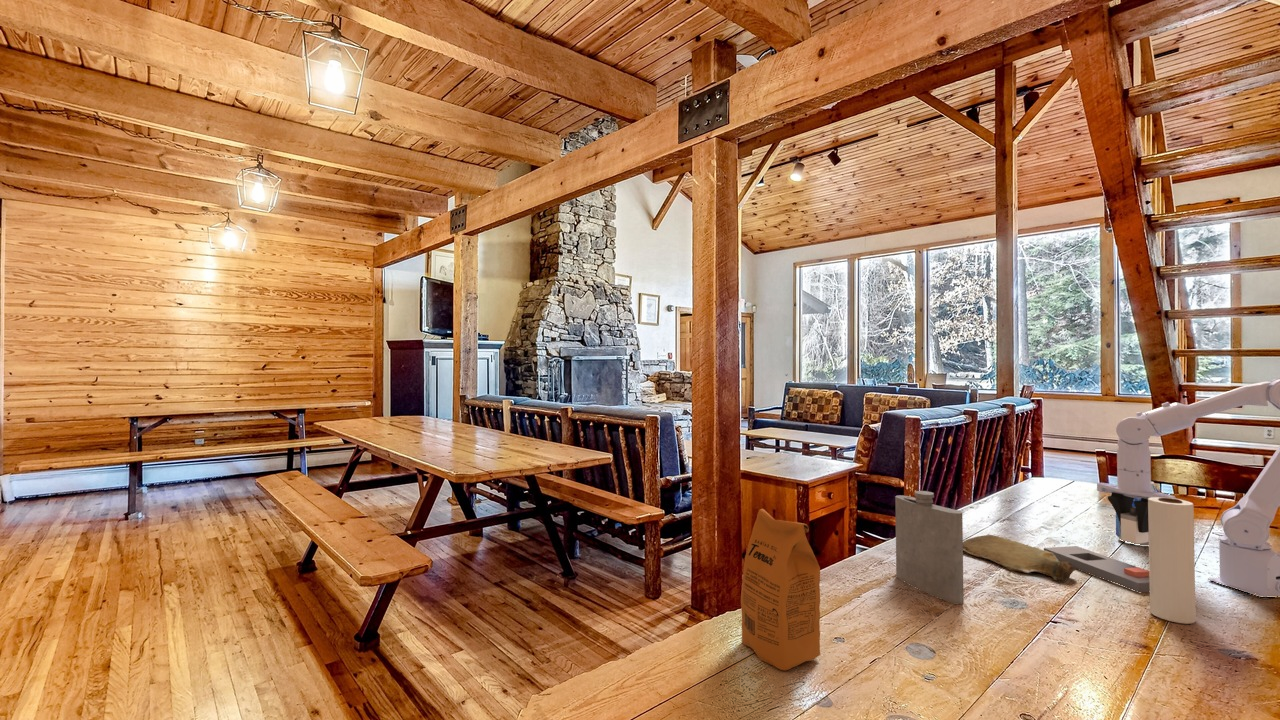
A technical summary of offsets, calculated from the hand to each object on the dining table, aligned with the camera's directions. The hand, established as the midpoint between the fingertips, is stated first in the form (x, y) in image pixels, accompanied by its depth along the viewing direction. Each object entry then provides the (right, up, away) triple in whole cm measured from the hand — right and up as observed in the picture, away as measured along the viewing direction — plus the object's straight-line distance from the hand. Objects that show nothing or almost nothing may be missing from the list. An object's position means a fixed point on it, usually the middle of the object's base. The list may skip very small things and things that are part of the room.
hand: (1134, 529), depth 126 cm
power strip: (-9, -9, -3) cm, 13 cm away
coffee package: (-90, -9, -36) cm, 98 cm away
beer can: (+16, -9, +17) cm, 25 cm away
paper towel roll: (-15, -8, -25) cm, 30 cm away
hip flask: (-54, -9, -12) cm, 55 cm away
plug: (0, -3, 0) cm, 3 cm away
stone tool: (-26, -9, +3) cm, 27 cm away
